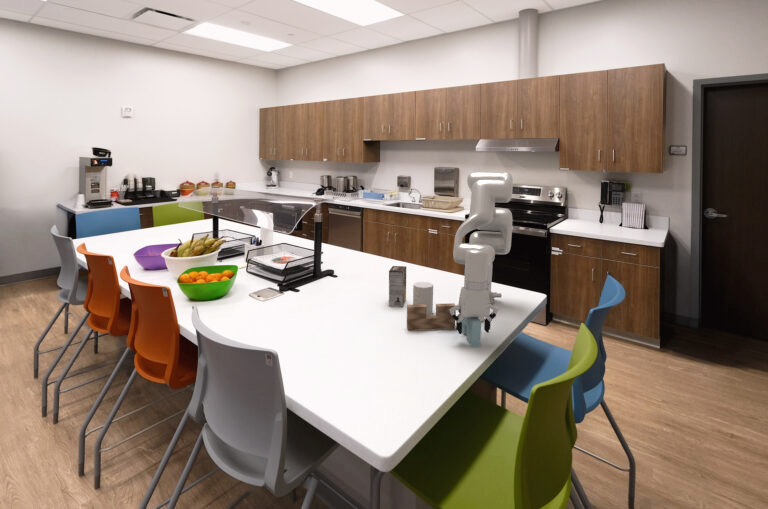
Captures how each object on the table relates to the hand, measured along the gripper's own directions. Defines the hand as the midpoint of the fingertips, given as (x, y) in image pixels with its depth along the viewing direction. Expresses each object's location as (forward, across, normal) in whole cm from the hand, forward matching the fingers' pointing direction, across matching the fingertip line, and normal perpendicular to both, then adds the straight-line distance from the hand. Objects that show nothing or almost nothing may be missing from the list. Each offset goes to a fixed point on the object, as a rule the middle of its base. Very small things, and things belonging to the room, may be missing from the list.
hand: (472, 331), depth 154 cm
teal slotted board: (+4, 0, -4) cm, 6 cm away
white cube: (+4, -7, -22) cm, 23 cm away
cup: (+4, +12, -31) cm, 33 cm away
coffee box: (+4, +21, -43) cm, 48 cm away
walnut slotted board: (+4, +12, -14) cm, 19 cm away
